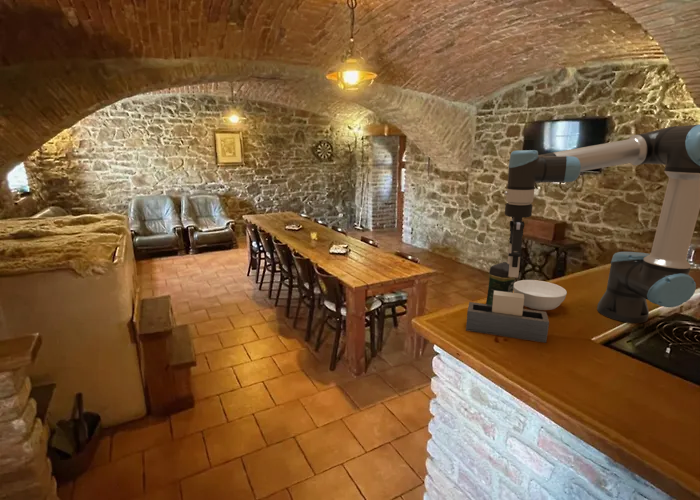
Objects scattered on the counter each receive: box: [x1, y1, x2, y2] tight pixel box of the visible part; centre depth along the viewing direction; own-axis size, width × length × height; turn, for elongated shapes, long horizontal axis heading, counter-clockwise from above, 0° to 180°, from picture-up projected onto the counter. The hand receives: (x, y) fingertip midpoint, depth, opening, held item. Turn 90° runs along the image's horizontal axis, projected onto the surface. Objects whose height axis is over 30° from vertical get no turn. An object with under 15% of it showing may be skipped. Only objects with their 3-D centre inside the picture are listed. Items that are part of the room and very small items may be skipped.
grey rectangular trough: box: [465, 301, 550, 344], centre depth 125 cm, size 24×8×7 cm, turn 69°
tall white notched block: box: [492, 291, 524, 316], centre depth 124 cm, size 9×4×12 cm, turn 69°
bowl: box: [513, 279, 568, 311], centre depth 144 cm, size 18×18×7 cm
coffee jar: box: [485, 261, 516, 305], centre depth 137 cm, size 10×8×19 cm
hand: (512, 270), depth 120 cm, fingers open, 13 cm apart
